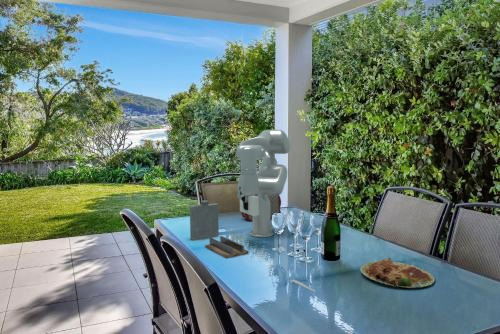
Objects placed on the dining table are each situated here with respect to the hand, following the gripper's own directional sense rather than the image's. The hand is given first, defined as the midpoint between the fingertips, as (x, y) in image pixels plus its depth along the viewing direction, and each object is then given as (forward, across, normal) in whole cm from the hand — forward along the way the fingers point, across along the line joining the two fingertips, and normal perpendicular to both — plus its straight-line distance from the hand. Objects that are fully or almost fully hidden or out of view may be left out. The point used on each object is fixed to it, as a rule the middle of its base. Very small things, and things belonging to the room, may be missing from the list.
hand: (249, 208), depth 206 cm
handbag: (+20, -39, -43) cm, 61 cm away
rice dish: (+19, -24, +68) cm, 74 cm away
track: (+18, +14, 0) cm, 23 cm away
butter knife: (+18, +12, +60) cm, 64 cm away
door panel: (+2, 0, 0) cm, 2 cm away
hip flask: (+19, +12, -24) cm, 33 cm away
